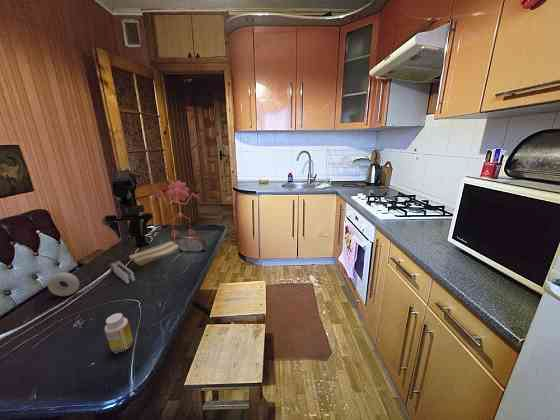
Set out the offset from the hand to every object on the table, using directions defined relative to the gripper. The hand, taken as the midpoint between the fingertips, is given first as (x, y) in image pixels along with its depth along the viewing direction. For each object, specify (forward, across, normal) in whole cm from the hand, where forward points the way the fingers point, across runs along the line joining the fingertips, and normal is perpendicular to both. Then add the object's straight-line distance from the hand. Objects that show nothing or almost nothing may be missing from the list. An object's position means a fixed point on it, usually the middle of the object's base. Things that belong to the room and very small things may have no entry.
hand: (131, 237), depth 105 cm
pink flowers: (0, +37, +22) cm, 43 cm away
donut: (+18, -22, +12) cm, 31 cm away
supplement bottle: (+37, -16, -29) cm, 50 cm away
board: (+8, +15, +15) cm, 23 cm away
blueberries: (+29, -22, -9) cm, 37 cm away
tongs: (+15, -3, +9) cm, 18 cm away
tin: (+12, +29, +3) cm, 31 cm away
